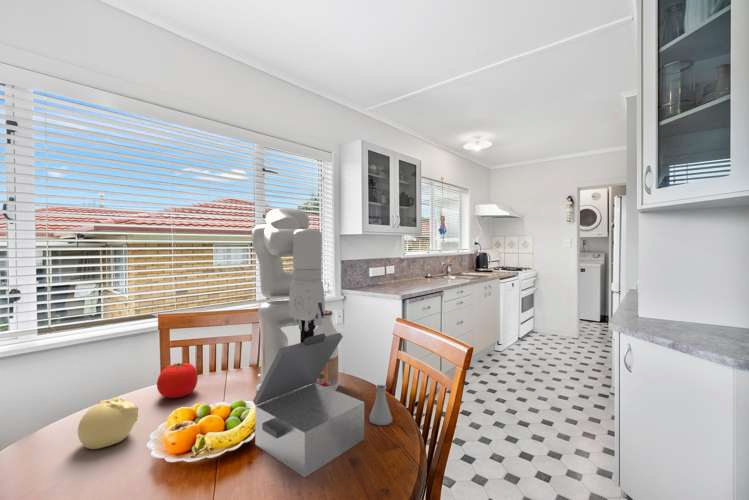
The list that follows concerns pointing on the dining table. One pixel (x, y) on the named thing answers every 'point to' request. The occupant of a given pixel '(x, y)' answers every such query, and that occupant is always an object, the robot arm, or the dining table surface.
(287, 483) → the dining table surface
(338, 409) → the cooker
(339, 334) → the lid
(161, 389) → the tomato
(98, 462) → the dining table surface
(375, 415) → the flask
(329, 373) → the fruit juice
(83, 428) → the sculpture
